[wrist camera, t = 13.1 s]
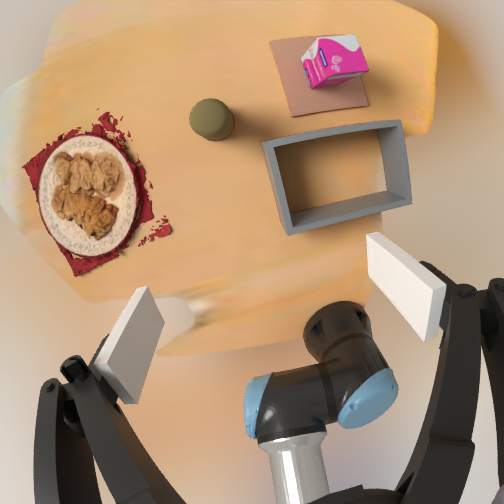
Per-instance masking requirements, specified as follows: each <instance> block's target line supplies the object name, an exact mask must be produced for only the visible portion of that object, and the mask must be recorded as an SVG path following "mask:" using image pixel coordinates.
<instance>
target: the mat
mask: <svg viewBox="0 0 504 504" xmlns="http://www.w3.org/2000/svg"><path fill="white" fill-rule="evenodd" d="M330 36H340V35H322V36H308V37H298V38H289V39H281V40H274V41H269V44H270V47H271V50H272V53H273V56H274V59H275V62H276V65H277V68H278V72H279V75H280V78H281V82H282V85H283V88H284V92H285V95H286V99H287V102H288V106H289V109H290V113H291V117H293V116H299V115H304V114H310V113H316V112H322V111H328V110H335V109H343V108H351V107H360V106H368V101H367V97H366V94H365V90H364V86H363V83H362V79H361V76H360V75H359V76H357V77H354V78H352V79H350V80H348V81H346V82H344V83H342V84H338V85H332V86H326V87H319V88H314V89H311V88H310V85H309V82H308V79H307V76H306V73H305V70H304V67H303V65H302V63H301V60H300V59H301V58H302V57H303V55H304V54H305V53H306V52H307V50H308V49H309V48H310V47H311V46H312V44H313V43H314V42H315V41H316V40H317V38H320V37H330Z"/></svg>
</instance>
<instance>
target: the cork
mask: <svg viewBox="0 0 504 504" xmlns="http://www.w3.org/2000/svg"><path fill="white" fill-rule="evenodd" d="M189 120H190V125H191V127H192V129H193V130H194V131H195V132H196V133H197V134H198V135H201V136H203V137H204V138H206V139H208V140H210V141H220V140H223V139H225V138H227V137H228V136H229V135H230V134H231V132H232V131H233V129H234V124H235V122H234V117H233V115H232V113H231V112H230V111H229V109H228V107H227V106H226V105H225V104H224V103H223V102H222V101H220V100H218V99H212V98H210V99H204V100H202V101H200V102H198V103H197V104H196V105H195V106H194V107H193V109H192V110H191V112H190V117H189Z"/></svg>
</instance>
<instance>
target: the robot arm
mask: <svg viewBox="0 0 504 504" xmlns="http://www.w3.org/2000/svg"><path fill="white" fill-rule="evenodd" d="M366 240H367V256H368V276H369V277H370V278H371V279H372V280H373V281H374V282H375V284H376V285H377V286H378V287H379V288H380V289H381V290H382V292H383V293H384V294H385V295H386V296H387V297H388V298H389V299H390V301H391V302H392V303H393V304H394V306H395V307H396V308H397V309H398V310H399V311H400V313H401V314H402V315H403V316H404V318H405V319H406V320H407V321H408V323H409V324H410V325H411V326H412V328H413V329H414V330H415V331H416V333H417V334H418V335H419V336H420V338H421V339H422V340H423V341H424V342H425V341H427V340H430V339H432V338H434V337H436V336H437V333H438V328H439V326H440V327H441V328H442V329H443V331H444V332H443V336H442V340H441V344H440V347H439V349H441V350H440V355H439V361H438V366H437V372H436V376H435V381H434V385H433V389H432V394H431V397H430V402H429V405H428V409H427V412H426V415H425V419H424V422H423V426H422V428H421V432H420V435H419V437H418V440H417V443H416V446H415V448H414V451H413V454H412V456H411V458H410V461H409V463H408V466H407V468H406V470H405V472H404V473H403V475H402V477H401V479H400V481H399V483H398V485H397V487H396V489H395V491H392V490H387V489H363V486H362V485H359V486H356V487H352V488H349V489H346V490H343V491H339V492H335V493H331V494H330V492H329V486H328V481H327V476H326V471H325V466H324V461H323V456H322V451H321V446H320V445H321V442H322V441H323V439H324V438H325V436H326V435H327V431H326V426H325V425H326V424H330V423H334V422H338V423H339V424H340V425H341V426H342V427H343V428H345V429H349V428H351V429H354V428H358V427H361V426H364V425H366V424H368V423H370V422H372V421H373V420H375V419H377V418H378V417H379V416H381V415H382V414H383V413H384V412H385V411H387V410H388V408H389V407H390V406H391V405H392V404H393V402H394V401H395V399H396V397H397V394H398V384H397V382H396V380H395V377H394V375H393V371H392V369H390V367H389V366H388V364H387V362H386V361H385V359H384V357H383V355H382V354H381V352H380V350H379V349H378V347H377V345H376V344H375V342H374V341H373V339H372V332H371V323H370V319H369V317H368V315H367V313H366V312H365V310H364V309H363V308H362V307H361V306H360V305H359V304H357V303H354V302H350V301H340V302H335V303H332V304H329V305H327V306H325V307H323V308H321V309H320V310H318V311H317V312H316V313H315V314H314V315H313V316H312V317H311V318H310V319H309V321H308V322H307V324H306V326H305V329H304V333H303V338H304V342H305V345H306V348H307V350H308V351H309V353H310V354H311V355H312V356H313V357H314V358H315V359H316V360H317V361H318V362H319V364H314V365H310V366H306V367H301V368H297V369H292V370H287V371H281V372H276V373H275V372H272V373H270V374H267V375H263V376H258V377H255V378H253V379H251V380H250V381H249V383H248V385H247V387H246V392H245V399H244V418H245V422H246V432H247V434H248V436H249V437H250V438H253V439H257V440H258V446H259V448H261V449H262V450H264V451H265V452H267V453H268V454H269V459H270V465H271V472H272V477H273V484H274V490H275V497H276V503H277V504H458V503H459V501H460V498H461V495H462V493H463V490H464V487H465V484H466V481H467V478H468V474H469V471H470V467H471V463H472V460H473V456H474V450H475V444H474V443H473V442H472V440H471V438H472V433H473V427H474V421H475V416H476V409H477V402H478V393H479V383H480V367H481V346H482V350H483V354H484V358H485V362H486V366H487V370H488V375H489V380H490V386H491V391H492V397H493V404H494V411H495V420H496V431H497V450H498V476H499V486H500V489H499V490H498V492H497V494H496V496H495V499H494V500H493V501H492V504H504V279H502V278H494V279H492V280H490V283H489V286H488V289H486V290H480V291H477V289H476V288H475V287H473V286H471V285H469V284H458V285H457V284H456V283H454V282H453V281H452V280H451V279H450V278H448V277H447V276H446V275H445V274H443V273H442V272H441V271H439V270H437V268H436V267H434V266H433V265H432V264H430V263H427V262H424V261H421V262H418V261H416V260H415V259H414V258H413V257H411V256H410V255H409V254H407V253H406V252H405V251H403V250H402V249H401V248H399V247H398V246H397V245H395V244H394V243H393V242H391V241H390V240H388V239H387V238H386V237H384V236H383V235H382V234H380V233H379V232H373V233H369V234H366ZM164 323H165V322H164V320H163V318H162V316H161V314H160V312H159V310H158V308H157V306H156V303H155V301H154V299H153V297H152V294H151V292H150V290H149V288H148V286H145V287H140V288H137V289H136V291H135V292H134V294H133V296H132V297H131V299H130V301H129V302H128V304H127V306H126V307H125V309H124V310H123V312H122V314H121V316H120V317H119V319H118V321H117V322H116V324H115V326H114V328H113V329H112V331H111V333H110V334H108V335H107V336H106V337H105V338H104V339H103V340H102V342H101V344H100V345H99V348H98V349H97V351H96V353H95V354H94V356H93V358H92V360H91V362H90V364H89V365H88V366H87V365H86V363H85V362H84V360H83V359H82V358H81V356H79V355H75V356H71V357H69V358H68V359H67V360H65V361H64V362H63V364H62V365H61V367H60V371H61V373H62V374H63V375H64V376H65V378H66V379H67V381H68V382H69V383H67V384H63V385H62V384H61V383H60V382H59V380H58V379H57V378H52V379H49V380H47V381H46V382H45V383H44V384H43V386H42V387H41V390H40V396H39V403H38V410H37V419H36V428H35V440H34V495H35V504H102V501H101V497H100V493H99V488H98V483H97V478H96V472H95V466H94V459H93V456H94V458H95V461H96V463H97V465H98V467H99V469H100V472H101V473H102V476H103V478H104V480H105V482H106V484H107V486H108V488H109V490H110V492H111V494H112V496H113V498H114V499H115V502H116V504H186V503H185V501H184V500H183V499H182V498H181V497H180V496H179V494H178V493H177V492H176V491H175V489H174V488H173V487H172V486H171V485H170V483H169V482H168V481H167V479H166V478H165V477H164V475H163V474H162V473H161V471H160V470H159V469H158V467H157V466H156V465H155V463H154V462H153V460H152V459H151V457H150V456H149V454H148V453H147V451H146V450H145V448H144V447H143V445H142V444H141V442H140V441H139V439H138V437H137V436H136V434H135V432H134V431H133V429H132V427H131V426H130V424H129V422H128V420H127V419H126V417H125V415H124V413H123V411H122V410H121V408H120V406H119V405H118V404H117V403H116V401H117V399H118V397H119V398H120V399H121V400H122V401H123V403H124V404H138V401H139V398H140V395H141V392H142V388H143V385H144V382H145V379H146V376H147V372H148V369H149V367H150V363H151V360H152V357H153V355H154V352H155V349H156V346H157V343H158V340H159V337H160V334H161V331H162V328H163V326H164Z"/></svg>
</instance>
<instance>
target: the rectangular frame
mask: <svg viewBox="0 0 504 504" xmlns="http://www.w3.org/2000/svg"><path fill="white" fill-rule="evenodd" d="M369 129H377V131H378V136H379V141H380V147H381V152H382V158H383V165H384V171H385V179H386V186H387V191H383V192H379V193H374V194H370V195H366V196H361V197H357V198H353V199H349V200H344V201H340V202H336V203H332V204H328V205H324V206H320V207H316V208H312V209H308V210H304V211H300V212H296V213H292V214H290V213H289V208H288V204H287V200H286V196H285V191H284V187H283V183H282V179H281V175H280V171H279V167H278V163H277V159H276V155H275V151H274V147H277V146H281V145H285V144H290V143H295V142H299V141H304V140H309V139H314V138H319V137H325V136H330V135H336V134H342V133H349V132H355V131H362V130H369ZM260 143H261V147H262V150H263V154H264V158H265V162H266V165H267V169H268V173H269V177H270V181H271V185H272V189H273V193H274V197H275V201H276V205H277V209H278V213H279V217H280V221H281V224H282V226H283V228H284V229H285V231H286V233H287V235H288V236H289V235H293V234H297V233H300V232H304V231H308V230H312V229H316V228H320V227H323V226H327V225H331V224H335V223H339V222H343V221H347V220H350V219H354V218H358V217H362V216H366V215H370V214H374V213H378V212H382V211H386V210H389V209H393V208H397V207H401V206H405V205H409V204H412V196H411V185H410V175H409V166H408V159H407V152H406V145H405V139H404V134H403V128H402V123H401V120H385V121H374V122H366V123H358V124H351V125H344V126H338V127H332V128H326V129H320V130H315V131H309V132H304V133H299V134H294V135H289V136H285V137H280V138H276V139H272V140H267V141H263V142H260Z"/></svg>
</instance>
